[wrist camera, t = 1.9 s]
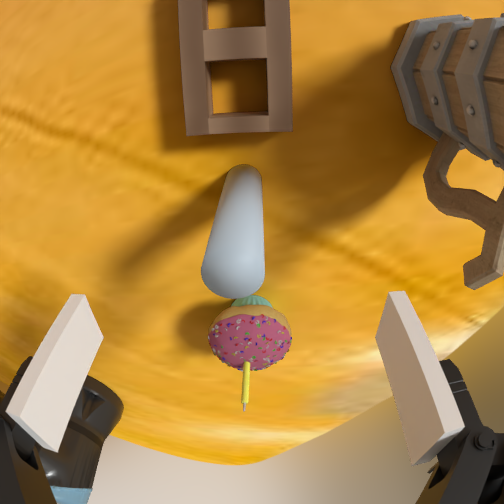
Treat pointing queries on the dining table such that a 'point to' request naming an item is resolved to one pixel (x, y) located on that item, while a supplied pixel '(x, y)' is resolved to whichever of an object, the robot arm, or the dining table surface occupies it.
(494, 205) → the tankard
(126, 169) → the dining table surface
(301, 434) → the dining table surface
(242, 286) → the dowel
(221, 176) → the dining table surface
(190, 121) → the hole block
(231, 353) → the cupcake
